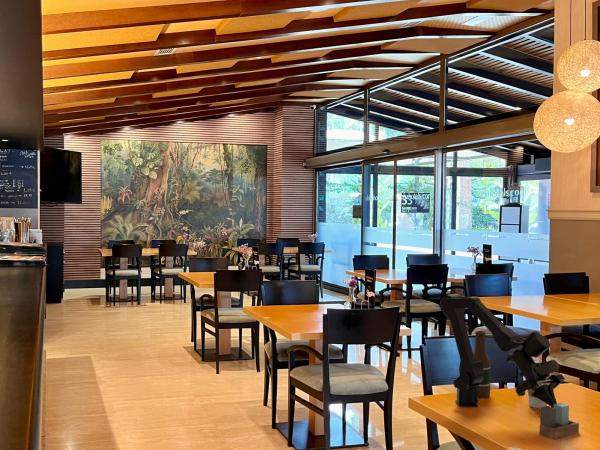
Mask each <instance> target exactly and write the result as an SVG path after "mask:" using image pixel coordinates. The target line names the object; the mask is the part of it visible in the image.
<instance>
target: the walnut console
mask: <svg viewBox="0 0 600 450" xmlns="http://www.w3.org/2000/svg"><path fill="white" fill-rule="evenodd" d="M579 430H580V423H579V422H576V421H573V420H570V419H569V425H563V424H560V423H556V428H551V427H548V426H545V425H542V424H539V435H540V436H543V437H546V438H549V439H553V440H559V439H563V438H566V437H569V436H573V435H577V434H579V432H580V431H579Z"/></svg>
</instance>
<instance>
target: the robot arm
mask: <svg viewBox="0 0 600 450" xmlns="http://www.w3.org/2000/svg"><path fill="white" fill-rule="evenodd" d="M440 306H441V310H442V312H443V314H444V315H445V316H446V318H447V319H448V320H449V322H450V326H451V330H452V334H453V337H454V341H455V345H456V348H457V351H458V356H459V359H460V361H459V365H458V366H459V367H458V373H459V375H458V377H457V378H456V379H454V380H453V382H452V383H453V387H454V388H455V389H456V400H454V401H455V403H456V404H457V406H458V407H461V408H462V407H464V408H465V407H467V408H470V407H472V408H473V407H474V408H476V407H479V405H478V404H479V398H478V392H477V388H476V387H477V386H479V384H480V382H481V381H482V380H483V378H484V372H485V371H484V369H483V365H482V361H477V360H476V359H475V357H474V355H473V353H474V350H473V348H472V343H471V339H470V337H469V334H468V333H469V332H468V331H467V330H468V329H467V327H466V326H467V325H466V322H465V317H464V315H465V310H466V309H469V311H471V313H472V314H474V316H475V317H476V318H477V319H478V320H479V321H480V322H481V323H482V324H483V326H484V327H486V329H487V330H488V331H489V332H490V333H491V334H492V338H493V342H494V343H495V344H496V345H497V347H498V348H499V350H501V351H502V352H510V351H511V352H512V351H513V352H512V353H507V354H506V355H507V357H506V361H505V362H506V363H514V364H515V366H516V367H517V368H518V370H519V372H520V373H519V376H520V377H521V378H522V377H523V378H524V379H523V380H522V381H521V382H520V383H519V384H518V385H517V386H516V387H515V393H516V394H517V396H518V397H522V396H525V395H526V391H528V390H530V389H532V391H533V393H532V394H531V396H534V397H536V398H538V399H540V400H541V401H543V402H545V403H546V404H547V406H550V407H553V408H554V404H558V402H557V400H556V395H555V391H554V389H556V388H558V387H559V386H560V385H561V384H562V383H563V382H564V381H565V380H566V378H565V377H564V375H563V374H562V373H559V369H560V364H559V363H558V362H557V360H556V359H551V360H547V362H546V363H547V364H543V365H541V364H540V363H541V362H536V360H534V358H539V357H540V356H541V355H542V354H544V353H545V352H546V351H548V349H549V348H551V345H552V344H551V343H550V340H549V339H548V338H547V337H546V336H544V335H542V334H541V333H539V332H538V331H537V330H534V331H532V332H531V333H530V334H529V336H528V337H527V338H524V337H522V336H520V335H519V334H518V333H517V332H515V331H514V330H513V329H512V328H510V327H507V326H505V325H504V324H503V322H501V321H500V320H499V319H498V318H497V317H496V316H495V315H494V313H492V312H491V311H490V310H489V308H488V307H487V306H486V305H485V304H484V303H483V302H482V301H481V299H480V298H479V297H478V296H462V295H460V294H458V293H455V294H454V293H453V294H445V295H443V296H442V297H441V299H440ZM519 348H520V349H519ZM553 373H554V374H553ZM549 374H550V375H549ZM549 376H550V377H549ZM547 377H549V378H548V379H546V378H547Z"/></svg>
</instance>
